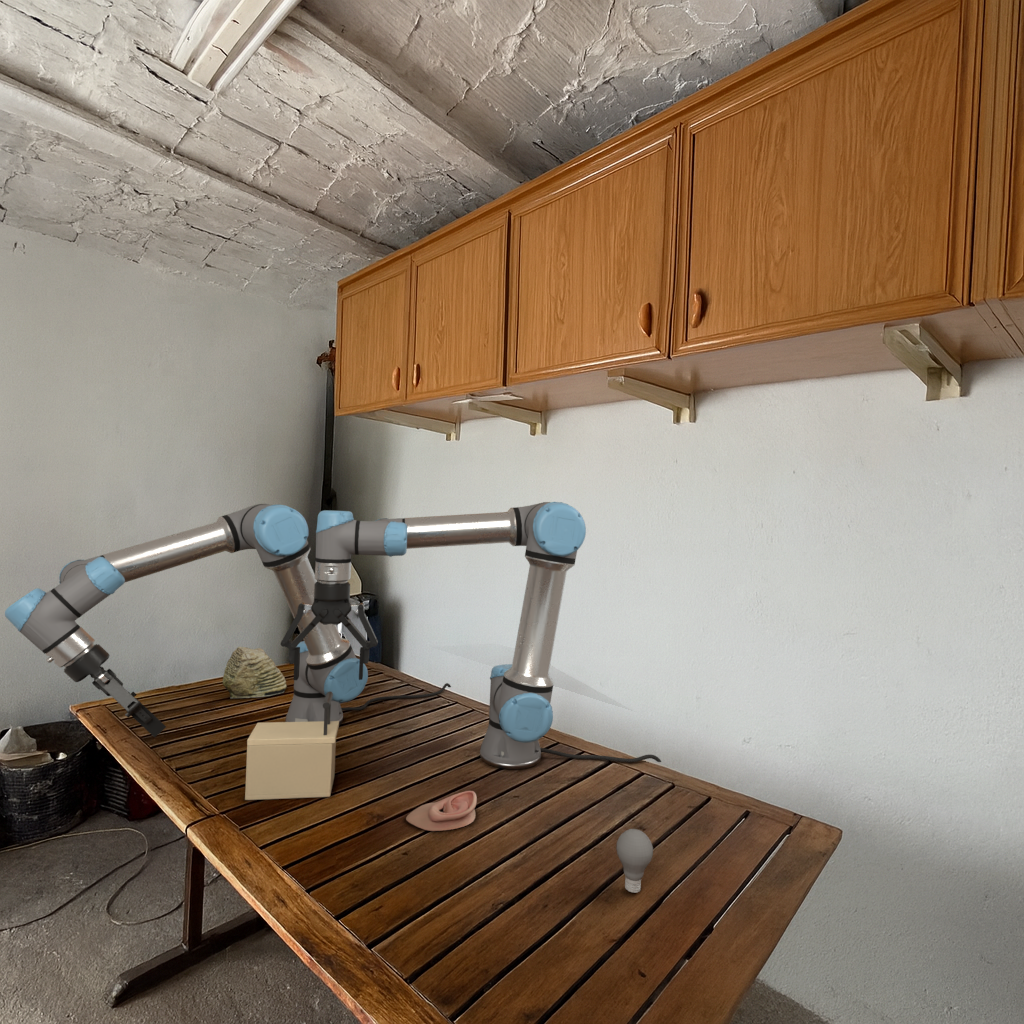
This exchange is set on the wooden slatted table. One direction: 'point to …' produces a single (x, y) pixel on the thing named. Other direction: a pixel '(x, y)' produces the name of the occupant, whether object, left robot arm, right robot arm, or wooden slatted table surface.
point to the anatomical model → (445, 813)
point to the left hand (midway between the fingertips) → (155, 727)
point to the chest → (289, 771)
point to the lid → (297, 730)
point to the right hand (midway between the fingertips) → (328, 678)
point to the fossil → (252, 674)
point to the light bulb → (634, 857)
